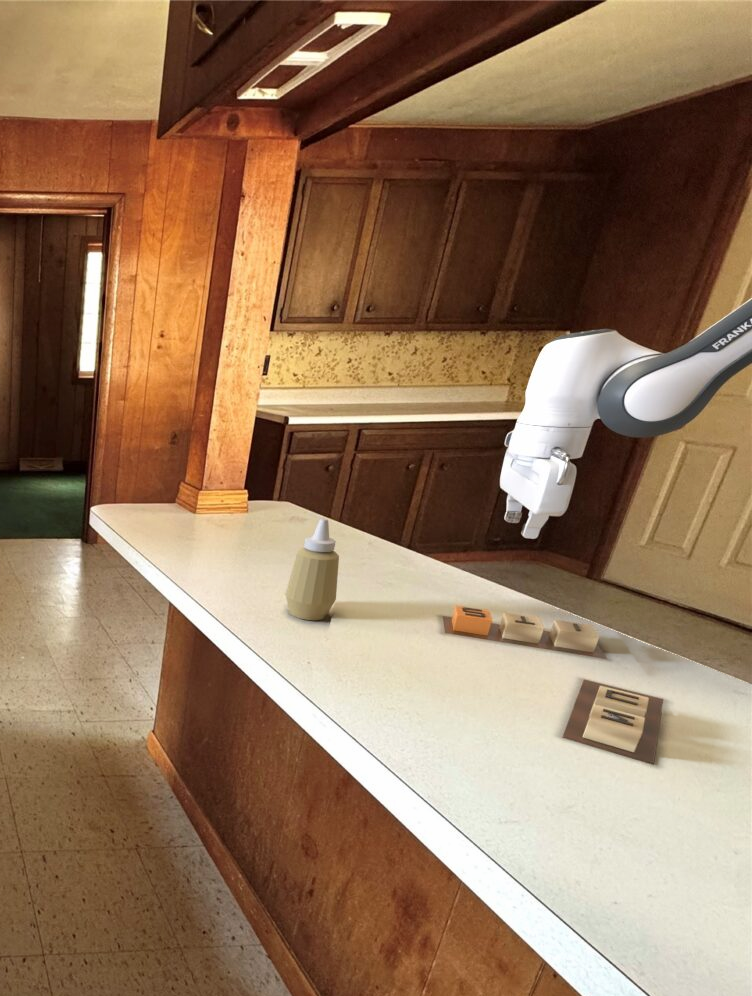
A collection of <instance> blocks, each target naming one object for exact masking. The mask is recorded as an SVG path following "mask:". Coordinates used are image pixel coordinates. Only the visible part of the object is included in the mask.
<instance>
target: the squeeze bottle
mask: <svg viewBox="0 0 752 996" xmlns="http://www.w3.org/2000/svg"><path fill="white" fill-rule="evenodd" d="M336 542H337V541H336V540H335V539H334V538H332V537H330V527H329V518H324V517H323V518H320V519H319V522H318V524H317V526H316V529H315V531H314V533H313V535H310V536H307V537H305V540H304V544H303V548H301V549H298V551H297V553H296V555H295V560H294V563H293V566H292V570H291V573H290V576H289V581H288V584H287V587H286V590H285V598H286V603H287V608H288V612H289V614H290V616H291V615H292V616H293V617H295V618H298V619H300V620H305V621H320V620H324V619H325V618H326V616H328V614H329V612H330V610H331V608H332V607H333V605H334V604H335V602H336V600H337V590H338V589H337V588H338V575H339V564H340V563H339V562H340V561H339V560H340V555H339V554H338V553H337V552H336V551H335V547H336Z"/></svg>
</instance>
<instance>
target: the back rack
mask: <svg viewBox="0 0 752 996" xmlns="http://www.w3.org/2000/svg"><path fill="white" fill-rule="evenodd" d="M452 617H453V616H452ZM452 617H451V616H445V615H442V622H443V628H444V629H443V630H444V634H447V635H448V634H449V635H453V636H459V637H467V638H473V639H478V640H479V639H480V640H485V641H486V640H487V641H492V642H498V643H504V644H511V645H516V646H523V647H529V648H535V649H541V650H548V651H554V652H561V653H566V654H571V655H572V654H573V655H577V656H578V655H580V656H585V657H591V658H599V659H603V660H604V659H605V660H607V657H606V655H605V653H604V652H603V650H602V649H601V647H600V645H599V644H598V643H599V642H598V641H599V640H600V634H599V632H598V631H597V629H596V628H595V627H594V625H593V624H588V623H580V622H573V621H566V620H565V621H564V620H558V619H554V622H553V624H552V627H551V631H544V630H545V627H544V624H543V623H542V620H541V618H540V617H536V616H529V615H523V614H517V613H510V612H503V614H502V617H501V620H500V623H499V624H498V623H493V622H492V623H491V626H490V630H489V633H488V636H486V635H480V634H473V633H467V632H461V631H454V630H453V626H452Z"/></svg>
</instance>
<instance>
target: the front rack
mask: <svg viewBox="0 0 752 996" xmlns="http://www.w3.org/2000/svg"><path fill="white" fill-rule="evenodd" d="M663 701H664V699H663V698H660V697H657V696H652V695H648V694H644V693H641V692H637V691H632V690H630V689H629V690H628V689H624V688H620V687H616V686H612V685H609V684H605V683H600V682H596V681H592V680H588V679H583V681H582V683H581V685H580V688H579V691H578V693H577V696H576V699H575V702H574V704H573V707H572V710H571V712H570V716H569V717H568V720H567V723H566V726H565V728H564V732H563V734H562V739H566V740H569V741H572V742H576V743H579V744H582V745H586V746H589V747H592V748H596V749H599V750H602V751H605V752H609V753H612V754H616V755H618V756H622V757H626V758H629V759H632V760H634V761H635V760H636V761H639V762H642V763H645V764H649V765H654V764H655V756H656V750H657V743H658V737H659V736H658V735H659V730H660V723H661V716H662V709H663Z"/></svg>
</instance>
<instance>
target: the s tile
mask: <svg viewBox="0 0 752 996" xmlns="http://www.w3.org/2000/svg"><path fill="white" fill-rule="evenodd" d="M491 623H492V624H493V618H492V615H491V612H490V610H488V609H481V608H476V607H475V608H474V607H469V606H468V607H467V606H460V605H455V606H454V610H453V614H452V626H453V630H454V631H461V632H467V633H473V634H480V635H486V636H488V633H489V630H490V626H491Z"/></svg>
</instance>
